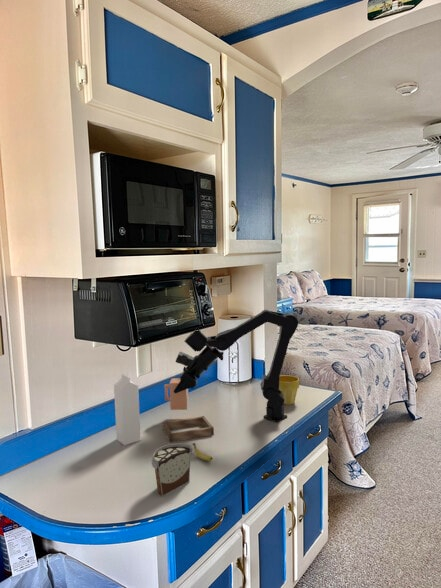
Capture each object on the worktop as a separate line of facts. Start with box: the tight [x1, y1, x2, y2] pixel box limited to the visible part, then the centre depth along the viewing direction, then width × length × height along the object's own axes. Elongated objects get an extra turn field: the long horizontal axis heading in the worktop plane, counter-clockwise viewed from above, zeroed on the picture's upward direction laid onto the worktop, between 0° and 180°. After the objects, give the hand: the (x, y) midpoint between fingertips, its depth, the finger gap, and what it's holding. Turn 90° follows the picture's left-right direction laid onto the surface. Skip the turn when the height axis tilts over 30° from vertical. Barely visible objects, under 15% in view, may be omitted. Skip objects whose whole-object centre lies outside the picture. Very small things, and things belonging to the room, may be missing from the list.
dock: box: [162, 415, 215, 443], centre depth 151 cm, size 15×11×2 cm
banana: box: [192, 442, 213, 462], centre depth 131 cm, size 8×2×4 cm, turn 47°
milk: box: [113, 373, 142, 446], centre depth 144 cm, size 6×6×22 cm
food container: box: [151, 443, 193, 498], centre depth 117 cm, size 12×6×10 cm, turn 136°
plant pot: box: [279, 374, 300, 406], centre depth 178 cm, size 10×10×10 cm
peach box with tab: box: [164, 377, 190, 411], centre depth 162 cm, size 8×6×10 cm
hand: (175, 389), depth 162 cm, fingers closed on peach box with tab, 6 cm apart
